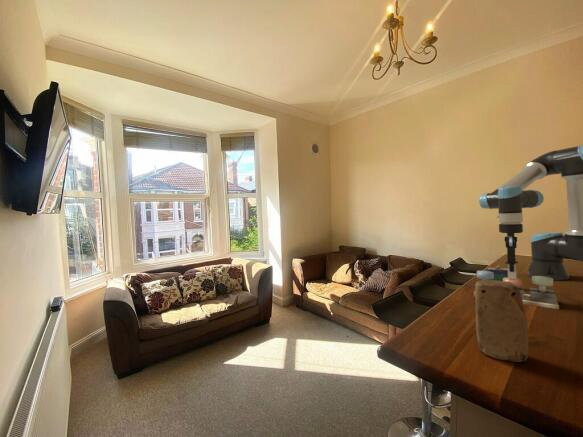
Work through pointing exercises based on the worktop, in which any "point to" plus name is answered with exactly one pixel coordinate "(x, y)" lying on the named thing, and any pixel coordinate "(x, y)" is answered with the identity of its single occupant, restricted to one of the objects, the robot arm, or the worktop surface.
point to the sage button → (542, 282)
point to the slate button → (485, 275)
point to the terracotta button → (514, 281)
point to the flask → (498, 273)
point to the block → (501, 321)
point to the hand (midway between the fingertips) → (512, 278)
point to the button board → (527, 301)
